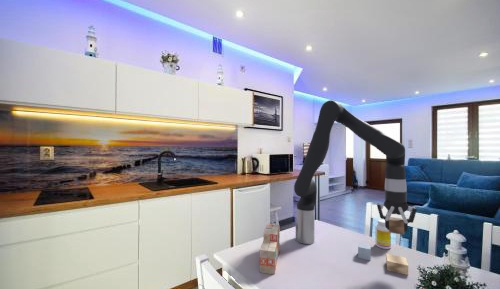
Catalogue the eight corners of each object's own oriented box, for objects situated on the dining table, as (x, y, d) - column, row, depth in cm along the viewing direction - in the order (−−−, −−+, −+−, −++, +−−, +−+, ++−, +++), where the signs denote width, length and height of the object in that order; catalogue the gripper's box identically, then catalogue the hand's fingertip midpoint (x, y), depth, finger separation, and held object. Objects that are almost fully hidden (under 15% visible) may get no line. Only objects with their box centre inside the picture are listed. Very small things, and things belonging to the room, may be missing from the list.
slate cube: (358, 257, 98) (358, 246, 98) (358, 253, 103) (358, 242, 103) (370, 260, 96) (370, 249, 96) (370, 255, 100) (370, 244, 100)
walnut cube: (389, 232, 88) (389, 220, 89) (388, 228, 93) (388, 216, 93) (404, 234, 86) (404, 222, 86) (402, 230, 90) (402, 218, 90)
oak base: (387, 270, 89) (387, 260, 89) (386, 262, 95) (386, 253, 95) (408, 275, 85) (408, 265, 85) (405, 267, 91) (405, 257, 91)
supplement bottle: (393, 250, 105) (393, 223, 105) (378, 248, 107) (378, 222, 107) (387, 244, 112) (387, 219, 112) (373, 242, 113) (373, 218, 113)
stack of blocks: (274, 275, 85) (275, 243, 85) (259, 272, 86) (259, 242, 87) (279, 249, 106) (279, 224, 106) (267, 248, 107) (267, 223, 107)
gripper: (375, 189, 90) (376, 230, 90) (418, 192, 83) (419, 237, 83) (375, 186, 97) (376, 224, 96) (415, 189, 89) (416, 230, 89)
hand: (396, 230), depth 89 cm, fingers closed on walnut cube, 5 cm apart
